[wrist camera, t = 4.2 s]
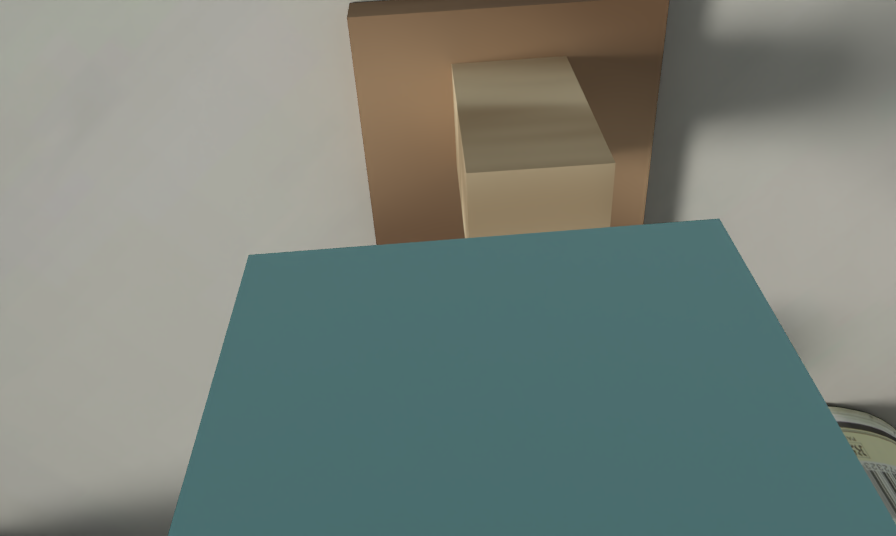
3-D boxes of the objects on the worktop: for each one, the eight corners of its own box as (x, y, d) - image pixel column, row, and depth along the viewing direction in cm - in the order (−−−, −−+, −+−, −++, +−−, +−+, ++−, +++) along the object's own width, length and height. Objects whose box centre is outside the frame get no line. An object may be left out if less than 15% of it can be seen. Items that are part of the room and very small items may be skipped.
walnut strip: (611, 410, 26) (618, 433, 25) (403, 425, 26) (403, 448, 25) (657, -18, 18) (669, -5, 17) (349, 3, 17) (347, 17, 17)
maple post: (562, 158, 19) (605, 281, 15) (456, 166, 19) (471, 291, 15) (566, 56, 17) (615, 163, 13) (451, 63, 17) (465, 173, 13)
